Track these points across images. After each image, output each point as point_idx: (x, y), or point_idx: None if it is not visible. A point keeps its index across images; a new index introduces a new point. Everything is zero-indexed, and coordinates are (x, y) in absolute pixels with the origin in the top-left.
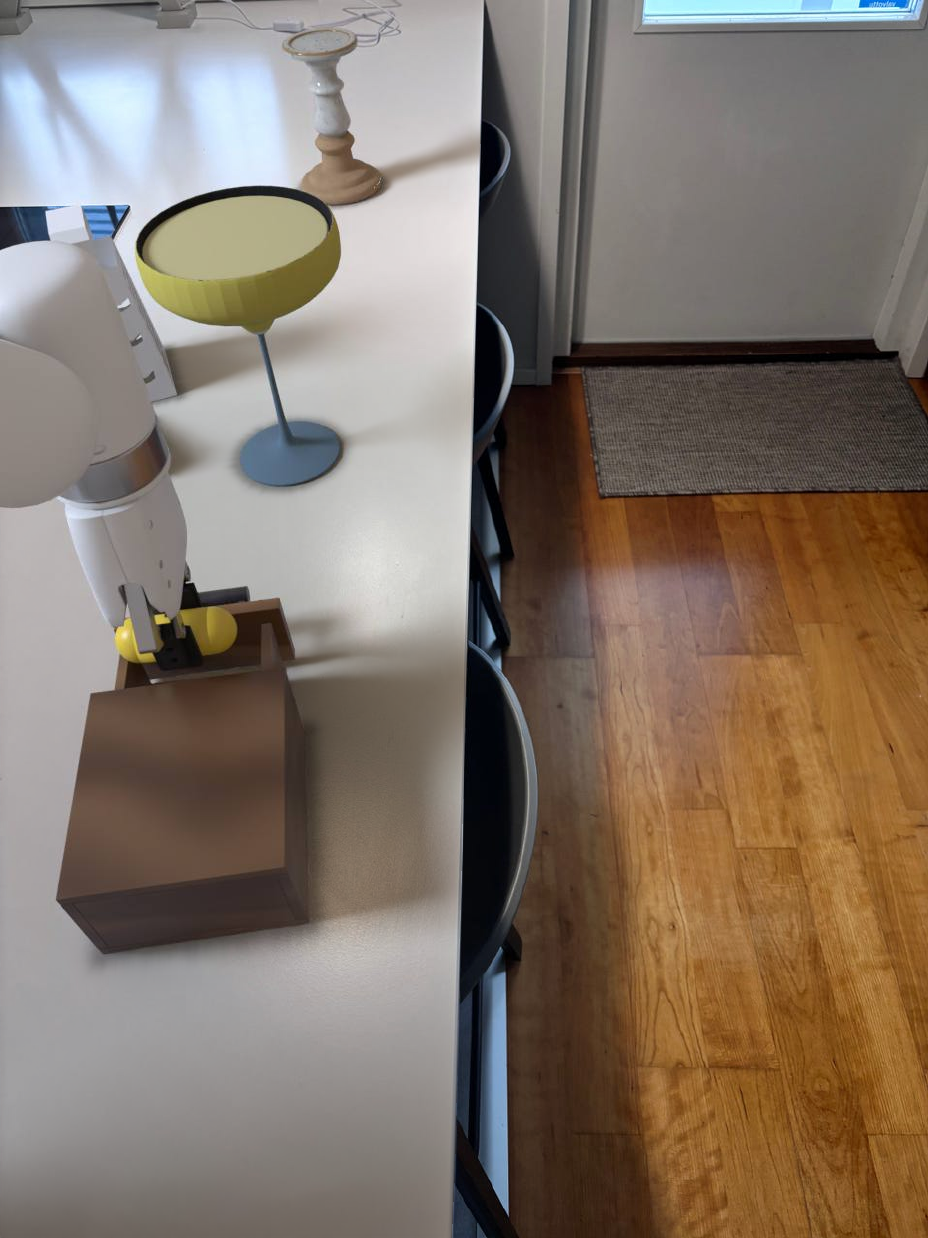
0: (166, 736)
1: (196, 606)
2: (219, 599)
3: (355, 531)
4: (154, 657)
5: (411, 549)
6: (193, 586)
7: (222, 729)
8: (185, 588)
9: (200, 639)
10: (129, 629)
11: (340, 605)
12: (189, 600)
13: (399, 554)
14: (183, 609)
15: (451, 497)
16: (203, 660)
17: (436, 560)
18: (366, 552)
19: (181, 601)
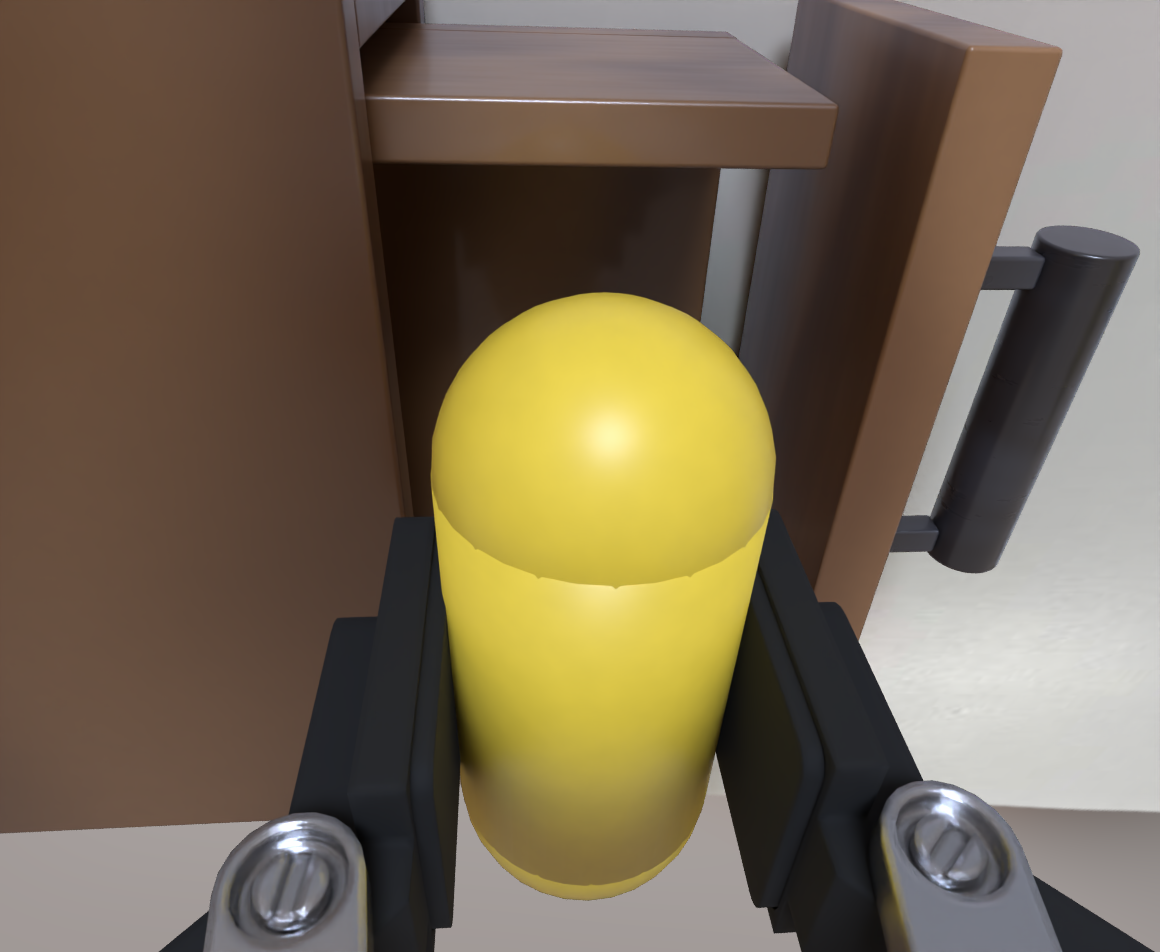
0: (30, 484)
1: (724, 773)
2: (979, 481)
3: (1136, 638)
4: (384, 595)
5: (990, 734)
6: (780, 931)
7: (115, 678)
8: (781, 907)
9: (472, 798)
10: (564, 563)
11: (885, 608)
12: (740, 814)
13: (989, 715)
14: (731, 720)
15: (1104, 795)
16: (767, 319)
17: (925, 770)
18: (1041, 658)
19: (749, 784)
